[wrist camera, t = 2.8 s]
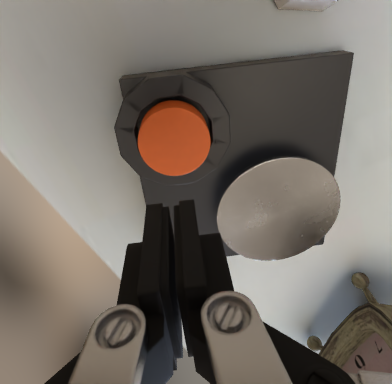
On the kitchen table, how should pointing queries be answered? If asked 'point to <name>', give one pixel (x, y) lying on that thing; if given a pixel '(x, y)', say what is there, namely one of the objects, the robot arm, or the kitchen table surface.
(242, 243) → the weighing pan
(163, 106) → the scale button
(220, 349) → the robot arm
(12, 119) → the kitchen table surface
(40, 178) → the kitchen table surface
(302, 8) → the flask
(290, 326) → the kitchen table surface
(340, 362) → the tabletop clock
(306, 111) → the scale
